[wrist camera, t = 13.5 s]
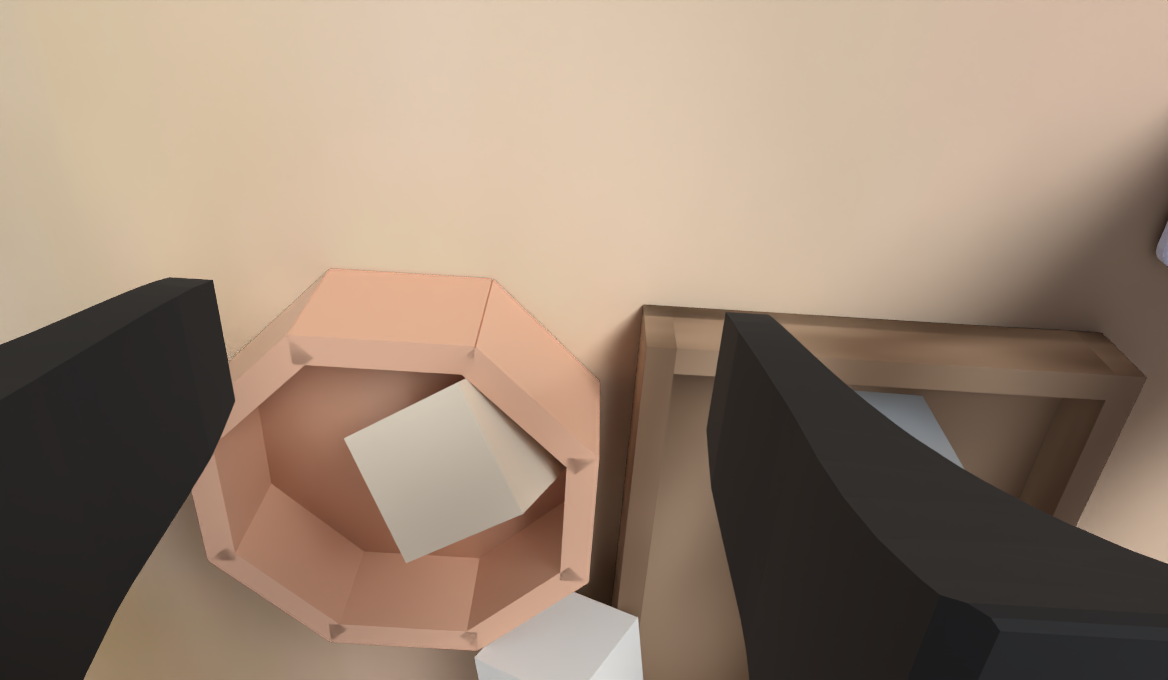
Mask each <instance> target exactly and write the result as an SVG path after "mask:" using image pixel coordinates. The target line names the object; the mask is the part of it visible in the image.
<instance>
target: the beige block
mask: <svg viewBox="0 0 1168 680" xmlns="http://www.w3.org/2000/svg"><path fill="white" fill-rule="evenodd" d="M344 440H345V442H346V444H347V446H348V448H349V450H350V452H351V454H352V456H353V458H354V460H355V462H356V464H357V466H358V468H359V470H360V472H361V474H362V476H363V478H364V480H365V482H366V484H367V486H368V488H369V490H370V492H371V494H372V496H373V498H374V500H375V502H376V504H377V506H378V508H379V510H380V512H381V514H382V516H383V518H384V520H385V522H386V524H387V526H388V528H389V530H390V532H391V534H392V536H393V538H394V540H395V542H396V544H397V546H398V548H399V550H400V552H401V554H402V556H403V558H404V560H405V562H406V563H408V562H410V561H412V560H415V559H417V558H420V557H422V556H424V555H427V554H429V553H431V552H434V551H436V550H439V549H441V548H443V547H446V546H448V545H450V544H453V543H455V542H457V541H460V540H462V539H465V538H467V537H469V536H472V535H474V534H476V533H479V532H481V531H484V530H486V529H488V528H491V527H493V526H495V525H498V524H500V523H502V522H505V521H507V520H510V519H512V518H514V517H517V516H519V515H521V514H523V513H524V512H525V511H526V510H527V509H528V508H529V507H530V506H531V505H532V504H533V503H534V502H535V501H536V500H537V498H538V497H539V496H540V495H541V494H542V493H543V492H544V491H545V490H546V489H547V488H548V487H549V486H550V485H551V484H552V483H553V482H554V481H555V480H556V479H557V477H558V476H559V475H560V474H561V473H562V472H563V471H564V470H565V469H566V467H565V466H564V465H563V464H562V463H561V462H560V461H559V460H558V459H557V458H555V457H554V456H553V455H552V454H551V453H550V452H549V451H547V450H546V449H545V448H544V447H543V446H542V445H541V444H540V443H538V442H537V441H536V440H535V439H534V438H533V437H532V436H530V435H529V434H528V433H527V432H526V431H525V430H524V429H523V428H521V427H520V426H519V425H518V424H517V423H516V422H515V421H514V420H512V419H511V418H510V417H509V416H508V415H507V414H506V413H504V412H503V411H502V410H501V409H500V408H499V407H498V406H497V405H495V404H494V403H493V402H492V401H491V400H490V399H489V398H487V397H486V396H485V395H484V394H483V393H482V392H481V391H480V390H478V389H477V388H476V387H475V386H474V385H473V384H472V383H471V382H469V381H468V380H467V379H464V380H461V381H459V382H457V383H455V384H453V385H451V386H449V387H447V388H445V389H443V390H441V391H439V392H437V393H435V394H433V395H431V396H429V397H427V398H425V399H423V400H421V401H419V402H417V403H415V404H413V405H411V406H409V407H407V408H405V409H403V410H400V411H398V412H396V413H394V414H392V415H390V416H388V417H386V418H384V419H382V420H380V421H378V422H376V423H374V424H372V425H370V426H368V427H366V428H364V429H362V430H360V431H358V432H356V433H354V434H352V435H350V436H348V437H346V438H344Z"/></svg>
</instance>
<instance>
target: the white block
mask: <svg viewBox="0 0 1168 680" xmlns="http://www.w3.org/2000/svg"><path fill="white" fill-rule="evenodd" d="M474 659H475V664H476V669H477V674H478V679H479V680H643V672H642V660H641V647H640V635H639V623H638V617H636V616H633V615H631V614H628V613H626V612H623V611H621V610H618V609H616V608H613V607H611V606H608V605H605V604H603V603H600V602H598V601H595V600H593V599H590V598H588V597H585V596H583V595H580V594H578V593H575V592H573V593H571V594H570V595H568V596H566V597H565V598H563V599H561V600H560V601H558V602H557V603H555V604H553V605H552V606H550V607H548V608H547V609H545V610H544V611H542V612H540V613H539V614H537V615H535V616H534V617H532V618H531V619H529V620H527V621H526V622H524V623H522V624H521V625H519V626H518V627H516V628H514V629H513V630H511V631H509V632H508V633H506V634H505V635H503V636H501V637H500V638H498V639H497V640H495V641H493V642H492V643H490V644H488V645H487V646H485V647H484V648H483V649H482V650H481V651H480V652H479V653H478V654H477V655H476V656H475V657H474Z"/></svg>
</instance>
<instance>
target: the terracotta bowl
mask: <svg viewBox="0 0 1168 680" xmlns="http://www.w3.org/2000/svg"><path fill="white" fill-rule="evenodd" d="M229 369H230V374H231V380H232V385H233V390H234V396H235V403H234V406H233V408H232V411H231V413H230V416H229V418H228V421H227V423H226V426H225V428H224V431H223V433H222V435H221V437H220V440H219V442H218V444H217V446H216V448H215V451H214V453H213V455H212V457H211V459H210V461H209V462H208V464H207V466H206V468H205V469H204V471H203V473H202V474H201V476H200V477H199V479H198V481H197V482H196V484H195V485H194V487H193V489H192V490H191V491H192V495H193V500H194V504H195V508H196V512H197V517H198V521H199V525H200V529H201V534H202V538H203V542H204V546H205V551H206V555H207V559H208V560H209V562H211V563H212V564H214V565H215V566H217V567H218V568H220V569H221V570H223V571H224V572H226V573H227V574H229V575H230V576H232V577H233V578H235V579H236V580H238V581H239V582H241V583H242V584H244V585H245V586H247V587H248V588H250V589H251V590H253V591H254V592H256V593H257V594H259V595H260V596H262V597H263V598H265V599H266V600H268V601H269V602H271V603H272V604H274V605H275V606H277V607H278V608H280V609H281V610H283V611H284V612H286V613H287V614H289V615H290V616H292V617H293V618H295V619H296V620H298V621H299V622H301V623H302V624H304V625H305V626H307V627H308V628H310V629H311V630H313V631H314V632H316V633H317V634H319V635H320V636H322V637H323V638H325V639H326V640H328V641H329V642H330V641H331V642H335V643H352V644H369V645H387V646H404V647H422V648H439V649H456V650H474V651H477V650H480V649H482V648H484V647H485V646H487V645H488V644H490V643H492V642H493V641H495V640H497V639H498V638H500V637H501V636H503V635H505V634H506V633H508V632H509V631H511V630H513V629H514V628H516V627H518V626H519V625H521V624H522V623H524V622H526V621H527V620H529V619H531V618H532V617H534V616H535V615H537V614H539V613H540V612H542V611H544V610H545V609H547V608H548V607H550V606H552V605H553V604H555V603H557V602H558V601H560V600H561V599H563V598H565V597H566V596H568V595H570V594H571V593H573V592H574V591H576V590H578V589H579V588H581V587H583V586H584V585H586V584H587V583H588V582H589V573H590V561H591V550H592V538H593V526H594V515H595V503H596V491H597V480H598V468H599V431H600V381H599V380H598V379H597V378H596V377H595V376H594V375H593V374H592V373H591V372H589V371H588V370H587V369H586V368H585V367H584V366H583V365H582V364H581V363H580V362H579V361H578V360H577V359H576V358H575V357H574V356H573V355H572V354H571V353H570V352H569V351H568V350H567V349H566V348H564V347H563V346H562V345H561V344H560V343H559V342H558V341H557V340H556V339H555V338H554V337H553V336H552V335H551V334H550V333H549V332H548V331H547V330H546V329H545V328H544V327H543V326H542V325H541V324H540V323H538V322H537V321H536V320H535V319H534V318H533V317H532V316H531V315H530V314H529V313H528V312H527V311H526V310H525V309H524V308H523V307H522V306H521V305H520V304H519V303H518V302H517V301H516V300H515V299H513V298H512V297H511V296H510V295H509V294H508V293H507V292H506V291H505V290H504V289H503V288H502V287H501V286H500V285H499V284H498V283H497V282H496V281H495V280H494V279H493V280H492V279H489V278H473V277H457V276H441V275H425V274H409V273H393V272H377V271H360V270H344V269H330V270H328V271H326V272H325V273H324V274H323V275H322V276H321V277H320V278H319V279H318V280H317V281H316V282H315V283H314V284H312V285H311V286H310V287H309V288H308V289H307V290H306V291H305V292H304V293H303V294H302V295H301V296H300V297H298V298H297V299H296V300H295V301H294V302H293V303H292V304H291V305H290V306H289V307H288V308H287V309H286V310H284V311H283V312H282V313H281V314H280V315H279V316H278V317H277V318H276V319H275V320H274V321H273V322H272V323H270V324H269V325H268V326H267V327H266V328H265V329H264V330H263V331H262V332H261V333H260V334H259V335H257V336H256V337H255V338H254V339H253V340H252V341H251V342H250V343H249V344H248V345H247V346H246V347H245V348H243V349H242V350H241V351H240V352H239V353H238V354H237V355H236V356H235V357H234V358H233V359H232V360H231V361H230V363H229ZM464 379H467V380H468V381H469V382H471V383H472V384H473V385H474V386H475V387H476V388H477V389H478V390H480V391H481V392H482V393H483V394H484V395H485V396H486V397H487V398H489V399H490V400H491V401H492V402H493V403H494V404H495V405H497V406H498V407H499V408H500V409H501V410H502V411H503V412H504V413H506V414H507V415H508V416H509V417H510V418H511V419H512V420H514V421H515V422H516V423H517V424H518V425H519V426H520V427H521V428H523V429H524V430H525V431H526V432H527V433H528V434H529V435H530V436H532V437H533V438H534V439H535V440H536V441H537V442H538V443H540V444H541V445H542V446H543V447H544V448H545V449H546V450H547V451H549V452H550V453H551V454H552V455H553V456H554V457H555V458H557V459H558V460H559V461H560V462H561V463H562V464H563V465H564V466H565V467H566V469H565V470H564V471H563V472H562V473H561V474H560V475H559V476H558V477H557V479H556V480H555V481H554V482H553V483H552V484H551V485H550V486H549V487H548V488H547V489H546V490H545V491H544V492H543V493H542V494H541V495H540V496H539V497H538V498H537V500H536V501H535V502H534V503H533V504H532V505H531V506H530V507H529V508H528V509H527V510H526V511H525V512H524V513H523V514H521V515H519V516H517V517H514V518H512V519H510V520H507V521H505V522H502V523H500V524H498V525H495V526H493V527H491V528H488V529H486V530H484V531H481V532H479V533H476V534H474V535H472V536H469V537H467V538H465V539H462V540H460V541H457V542H455V543H453V544H450V545H448V546H446V547H443V548H441V549H439V550H436V551H434V552H431V553H429V554H427V555H424V556H422V557H420V558H417V559H415V560H412V561H410V562H408V563H406V562H405V560H404V558H403V556H402V554H401V552H400V550H399V548H398V546H397V544H396V542H395V540H394V538H393V536H392V534H391V532H390V530H389V528H388V526H387V524H386V522H385V520H384V518H383V516H382V514H381V512H380V510H379V508H378V506H377V504H376V502H375V500H374V498H373V496H372V494H371V492H370V490H369V488H368V486H367V484H366V482H365V480H364V478H363V476H362V474H361V472H360V470H359V468H358V466H357V464H356V462H355V460H354V458H353V456H352V454H351V452H350V450H349V448H348V446H347V444H346V442H345V440H344V438H346V437H348V436H350V435H352V434H354V433H356V432H358V431H360V430H362V429H364V428H366V427H368V426H370V425H372V424H374V423H376V422H378V421H380V420H382V419H384V418H386V417H388V416H390V415H392V414H394V413H396V412H398V411H400V410H403V409H405V408H407V407H409V406H411V405H413V404H415V403H417V402H419V401H421V400H423V399H425V398H427V397H429V396H431V395H433V394H435V393H437V392H439V391H441V390H443V389H445V388H447V387H449V386H451V385H453V384H455V383H457V382H459V381H461V380H464Z"/></svg>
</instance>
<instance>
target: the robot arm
mask: <svg viewBox="0 0 1168 680" xmlns="http://www.w3.org/2000/svg"><path fill="white" fill-rule="evenodd" d="M1156 254H1157V258H1158V259H1159V260H1160V261H1161V262H1163V263H1164V264H1165V265H1167V266H1168V222H1167V224H1166V227H1165V229H1164V231H1163V233H1162V236H1161V238H1160V240H1159V242H1158V245H1157V249H1156ZM234 403H235V396H234V390H233V385H232V380H231V374H230V369H229V364H228V358H227V353H226V348H225V342H224V337H223V332H222V326H221V321H220V316H219V310H218V305H217V300H216V294H215V289H214V284H213V280H203V279H186V278H170V277H169V278H166V279H162V280H158V281H155V282H152V283H149V284H146V285H143V286H141V287H138V288H135V289H133V290H130V291H128V292H125V293H123V294H121V295H118V296H116V297H113V298H111V299H109V300H106V301H104V302H101V303H99V304H97V305H94V306H92V307H90V308H87V309H85V310H83V311H80V312H78V313H76V314H73V315H71V316H69V317H67V318H64V319H62V320H60V321H57V322H55V323H53V324H50V325H48V326H46V327H43V328H41V329H39V330H36V331H34V332H31V333H29V334H26V335H24V336H21V337H19V338H16V339H14V340H11V341H9V342H6V343H4V344H1V345H0V680H83V679H84V677H85V675H86V673H87V671H88V669H89V667H90V665H91V663H92V661H93V658H94V656H95V654H96V652H97V650H98V648H99V646H100V644H101V642H102V640H103V638H104V636H105V634H106V632H107V630H108V628H109V625H110V623H111V621H112V619H113V617H114V615H115V613H116V611H117V610H118V608H119V606H120V604H121V603H122V601H123V599H124V597H125V596H126V594H127V592H128V590H129V589H130V587H131V585H132V583H133V582H134V580H135V579H136V577H137V576H138V574H139V572H140V571H141V569H142V568H143V566H144V565H145V563H146V561H147V560H148V558H149V557H150V555H151V554H152V552H153V550H154V549H155V547H156V546H157V544H158V543H159V541H160V539H161V538H162V536H163V535H164V533H165V532H166V530H167V528H168V527H169V525H170V524H171V522H172V520H173V519H174V517H175V516H176V514H177V513H178V511H179V509H180V508H181V506H182V505H183V503H184V502H185V500H186V498H187V497H188V495H189V494H190V492H191V490H192V489H193V487H194V485H195V484H196V482H197V481H198V479H199V477H200V476H201V474H202V473H203V471H204V469H205V468H206V466H207V464H208V462H209V461H210V459H211V457H212V455H213V453H214V451H215V448H216V446H217V444H218V442H219V440H220V437H221V435H222V433H223V431H224V428H225V426H226V423H227V421H228V418H229V416H230V413H231V411H232V408H233V406H234ZM706 432H707V446H708V459H709V471H710V481H711V490H712V495H713V499H714V504H715V509H716V513H717V518H718V522H719V527H720V531H721V536H722V540H723V545H724V549H725V553H726V558H727V562H728V566H729V571H730V575H731V580H732V584H733V588H734V593H735V597H736V602H737V606H738V610H739V615H740V619H741V625H742V631H743V636H744V642H745V647H746V655H747V664H748V673H749V680H1168V564H1166V563H1164V562H1161V561H1158V560H1155V559H1153V558H1150V557H1147V556H1144V555H1142V554H1139V553H1136V552H1134V551H1131V550H1129V549H1126V548H1124V547H1121V546H1119V545H1117V544H1114V543H1112V542H1110V541H1107V540H1105V539H1103V538H1100V537H1098V536H1096V535H1094V534H1091V533H1089V532H1087V531H1084V530H1082V529H1080V528H1077V527H1075V526H1073V525H1071V524H1068V523H1066V522H1064V521H1062V520H1060V519H1058V518H1056V517H1053V516H1051V515H1049V514H1047V513H1045V512H1043V511H1041V510H1039V509H1037V508H1035V507H1033V506H1031V505H1029V504H1027V503H1025V502H1023V501H1021V500H1019V499H1017V498H1015V497H1014V496H1012V495H1010V494H1008V493H1006V492H1004V491H1002V490H1000V489H999V488H997V487H995V486H993V485H991V484H989V483H987V482H985V481H984V480H982V479H980V478H978V477H977V476H975V475H973V474H971V473H970V472H968V471H966V470H965V469H963V468H961V467H960V466H958V465H956V464H955V463H953V462H952V461H950V460H948V459H947V458H945V457H944V456H942V455H941V454H939V453H938V452H936V451H935V450H933V449H931V448H930V447H928V446H927V445H925V444H924V443H922V442H921V441H919V440H918V439H916V438H915V437H913V436H912V435H910V434H909V433H908V432H906V431H905V430H903V429H902V428H901V427H899V426H898V425H896V424H895V423H894V422H893V421H891V420H890V419H889V418H887V417H886V416H885V415H884V414H882V413H881V412H880V411H878V410H877V409H876V408H875V407H873V406H872V405H871V404H869V403H868V402H867V401H866V400H864V399H863V398H862V397H861V396H860V395H858V394H857V393H856V392H855V391H854V390H852V389H851V388H850V387H849V386H848V385H846V384H845V383H844V382H843V381H842V380H841V379H840V378H838V377H837V376H836V375H835V374H834V373H833V372H832V371H831V370H829V369H828V368H827V367H826V366H825V365H824V364H823V363H822V362H821V361H820V360H818V359H817V358H816V357H815V356H814V355H813V354H812V353H811V352H810V351H809V350H808V349H807V348H806V347H804V346H803V345H802V344H801V343H800V342H799V341H798V340H797V339H796V338H795V337H794V336H793V335H792V334H791V333H790V332H788V331H787V330H786V329H785V328H784V327H783V326H782V325H781V324H780V323H779V322H777V321H776V320H775V319H774V318H773V317H771V316H770V315H768V314H751V313H735V312H726V313H725V319H724V325H723V331H722V337H721V343H720V349H719V355H718V361H717V367H716V374H715V380H714V386H713V392H712V398H711V404H710V410H709V416H708V422H707V428H706Z"/></svg>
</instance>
